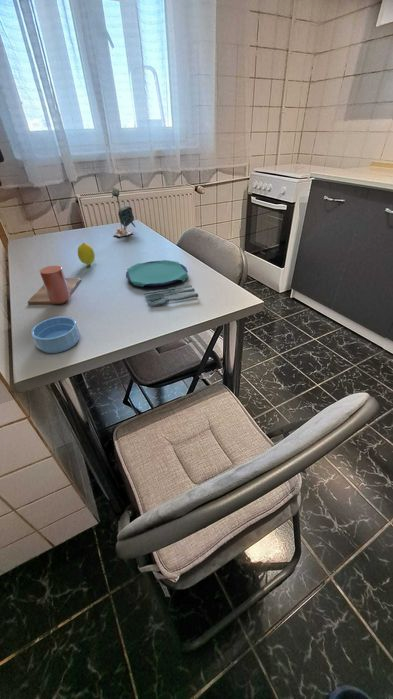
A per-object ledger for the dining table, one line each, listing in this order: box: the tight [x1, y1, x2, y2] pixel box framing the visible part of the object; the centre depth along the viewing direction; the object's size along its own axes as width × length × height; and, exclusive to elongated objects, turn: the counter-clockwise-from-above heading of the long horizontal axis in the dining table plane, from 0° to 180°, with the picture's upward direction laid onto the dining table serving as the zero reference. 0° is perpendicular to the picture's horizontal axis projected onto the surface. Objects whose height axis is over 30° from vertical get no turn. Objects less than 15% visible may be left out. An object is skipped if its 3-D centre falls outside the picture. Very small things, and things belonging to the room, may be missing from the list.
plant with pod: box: [111, 186, 136, 237], centre depth 131 cm, size 8×11×20 cm
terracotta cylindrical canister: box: [39, 265, 72, 303], centre depth 81 cm, size 6×6×8 cm
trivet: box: [27, 277, 82, 306], centre depth 89 cm, size 16×10×1 cm, turn 0°
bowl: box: [30, 316, 81, 354], centre depth 67 cm, size 9×10×4 cm
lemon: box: [77, 242, 96, 266], centre depth 104 cm, size 6×6×8 cm
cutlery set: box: [125, 259, 199, 307], centre depth 92 cm, size 20×30×2 cm, turn 17°
